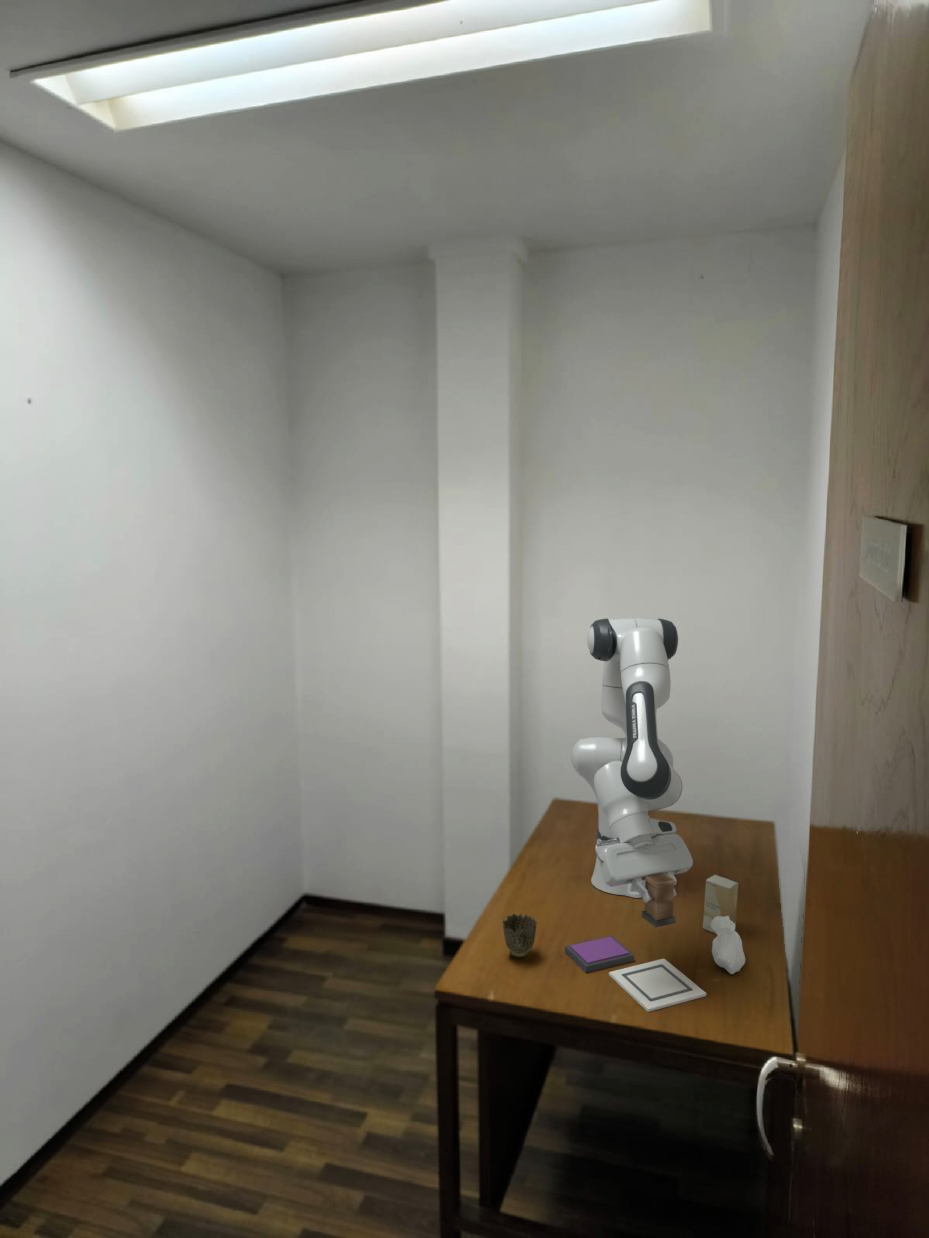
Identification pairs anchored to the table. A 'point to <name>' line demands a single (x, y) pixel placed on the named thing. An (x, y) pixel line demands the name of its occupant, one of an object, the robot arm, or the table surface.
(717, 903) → the skincare box
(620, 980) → the print card
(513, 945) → the cup
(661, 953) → the table surface
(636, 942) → the table surface
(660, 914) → the stamp
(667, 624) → the robot arm
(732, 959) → the bust
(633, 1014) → the table surface
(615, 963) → the ink pad
